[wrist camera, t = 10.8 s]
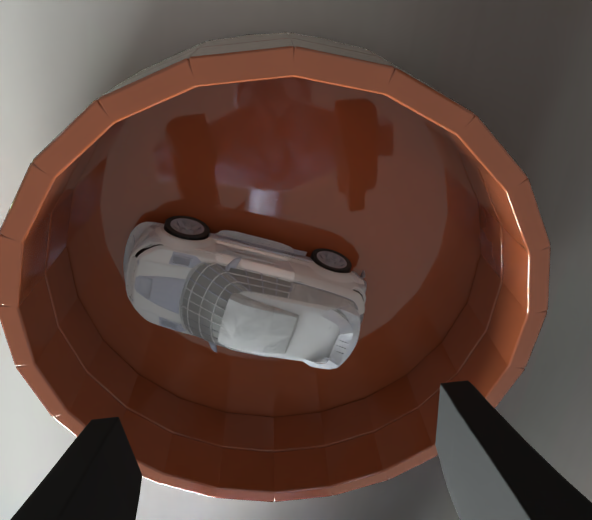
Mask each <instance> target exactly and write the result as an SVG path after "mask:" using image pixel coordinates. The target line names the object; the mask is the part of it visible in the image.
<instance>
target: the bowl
mask: <svg viewBox="0 0 592 520" xmlns="http://www.w3.org/2000/svg"><path fill="white" fill-rule="evenodd" d="M173 216H188V217H193V218H196V219H198V220H200V221H202V222H204V223H205V224H206V225H207V226H208V227H209V229H210V232H209V233H213V234H216V233H218V232H219V231H222V230H229V231H236V232H240V233H244V234H248V235H252V236H256V237H260V238H264V239H268V240H272V241H276V242H279V243H282V244H285V245H287V246H290V247H292V249H295V250H300V251H305V252H307V253H306V257H311V254H312V252H313V251H314V250H315V249H322V248H323V249H330V250H333V251H336V252H338V253H340V254H342V255H344V256H345V257H346V258H348V259H349V261H350V262H351V264H352V267H351V270H350V272H351V271H353V272H356V273H357V274H358V275H359V276H361V273H362V271H364V272H365V278H363V279H364V280H365V281H366V292H365V295H366V301H365V312H364V316H363V321H362V323H361V324H360V333H359V337H358V341H357V344H356V346H355V348H354V350H353V351H352V353H351V354H350V356H349V357H348V358H347V359H346V361H345V362H344V363H343V364H342V365H340V366H339V367H338V368H335V369H321V368H315V367H311V366H309V365H307V364H306V363H304V362H303V361H296V360H289V359H282V358H276V357H270V356H269V357H264V356H259V355H253V354H248V353H243V352H238V351H234V350H230V349H228V348H225V347H222V346H218V345H216V347H217V352H214V351H213V350H212V349H211V347H210V345H209V342H208V341H206V340H204V339H202V338H199V337H197V336H193V335H190V334H186V333H182V332H179V331H175V330H172V329H169V328H165V327H162V326H159V325H156V324H153V323H151V322H149V321H147V320H146V319H144V318H143V317H142V316H141V315H140V314H139V313H138V312H137V311H136V309H135V308H134V307H133V305H132V303H131V301H130V300H129V298H128V296H127V292H126V284H125V278H124V271H123V263H124V253H125V248H126V244H127V240H128V238H129V236H130V233H131V232H132V231H133V229H134V228H135V227H136V226H137V225H139V224H140V223H143V222H156V223H162V224H165V221H166V219H168V218H170V217H173ZM550 249H551V248H550V241H549V238H548V235H547V232H546V229H545V226H544V223H543V220H542V217H541V214H540V211H539V208H538V205H537V202H536V199H535V196H534V193H533V190H532V187H531V184H530V181H529V179H528V178H527V175H526V174H525V173H524V172H523V170H522V169H521V168H520V167H519V165H518V164H517V163H516V162H515V161H514V159H513V158H512V157H511V156H510V155H509V153H508V152H507V151H506V150H505V149H504V147H503V146H502V145H501V144H500V142H499V141H498V140H497V139H496V138H495V136H494V135H493V134H492V133H491V132H490V130H489V129H488V128H487V127H486V126H485V124H484V123H483V122H482V121H481V119H480V118H479V117H478V116H477V115H475V114H474V113H473V112H472V111H470V110H469V109H467V108H465V107H464V106H462V105H460V104H459V103H457V102H456V101H454V100H452V99H451V98H449V97H447V96H446V95H444V94H443V93H441V92H439V91H438V90H436V89H434V88H433V87H431V86H430V85H428V84H426V83H424V82H423V81H421V80H419V79H418V78H416V77H414V76H413V75H411V74H409V73H407V72H406V71H404V70H402V69H401V68H399V67H397V66H396V65H394V64H392V63H390V62H389V61H387V60H385V59H384V58H382V57H380V56H378V55H377V54H375V53H373V52H372V51H370V50H366V49H365V48H362V47H357V46H352V45H347V44H343V43H340V42H336V41H332V40H328V39H324V38H321V37H313V36H305V35H300V34H296V33H289V34H288V33H287V32H282V33H273V34H249V35H243V36H238V37H232V38H226V39H217V40H209V41H207V42H203V43H201V44H198V45H196V46H194V47H192V48H190V49H187V50H185V51H182V52H179V53H177V54H175V55H173V56H171V57H169V58H167V59H165V60H163V61H161V62H159V63H157V64H154V65H152V66H150V67H148V68H146V69H143V70H141V71H139V72H137V73H136V74H134V75H132V76H131V77H129V78H128V79H126V80H125V81H123V82H122V83H120V84H119V85H117V86H115V87H114V88H112V89H111V90H109V91H108V92H106V93H105V94H103V95H102V96H100V97H99V98H97V99H96V100H94V101H93V102H92V103H91V104H90V105H89V106H88V107H87V108H86V109H85V110H84V111H83V112H82V113H81V114H80V115H79V116H77V117H76V118H75V119H74V120H73V121H72V122H71V123H70V124H69V125H68V126H67V127H66V128H65V129H64V130H63V131H62V132H61V133H60V134H59V135H58V136H57V137H56V138H55V139H54V140H53V141H52V142H51V143H50V144H48V145H47V146H46V147H45V148H44V149H43V150H42V151H41V152H40V153H39V154H38V155H37V156H36V157H35V158H34V159H33V162H32V163H30V165H29V167H28V170H27V172H26V174H25V176H24V178H23V180H22V183H21V185H20V187H19V189H18V191H17V194H16V196H15V198H14V200H13V202H12V204H11V207H10V209H9V211H8V213H7V215H6V217H5V220H4V222H3V224H2V226H1V228H0V321H1V324H2V327H3V330H4V333H5V336H6V339H7V342H8V345H9V348H10V351H11V355H12V358H13V361H14V364H15V365H16V368H17V370H18V371H19V372H20V374H21V375H22V376H23V378H24V379H25V381H26V382H27V383H28V385H29V386H30V387H31V389H32V390H33V392H34V393H35V394H36V396H37V397H38V398H39V400H40V401H41V402H42V404H43V405H44V407H45V408H46V409H47V411H48V412H49V413H50V415H51V416H52V417H54V419H55V420H56V421H58V422H59V423H60V424H61V425H63V426H64V427H65V428H66V429H68V430H69V431H70V432H71V433H73V434H74V435H75V436H76V437H78V436H79V434H80V433H81V432H82V431H83V429H84V428H85V427H86V426H87V424H88V423H89V422H90V421H91V420H92V419H101V418H111V417H119V419H120V421H121V424H122V426H123V429H124V431H125V434H126V436H127V439H128V441H129V444H130V446H131V448H132V451H133V453H134V456H135V458H136V461H137V463H138V466H139V468H140V471H141V473H142V476H143V477H145V478H147V479H149V480H151V481H153V482H156V481H157V483H159V484H163V485H167V486H171V487H175V488H178V489H182V490H186V491H190V492H194V493H198V494H202V495H206V496H209V497H214V496H215V498H224V499H237V500H251V501H265V502H273V501H275V502H279V501H289V500H299V499H308V498H318V497H328V496H332V495H338V494H341V493H345V492H348V491H352V490H355V489H359V488H362V487H366V486H369V485H373V484H376V483H380V482H383V481H387V480H389V479H392V478H394V477H396V476H398V475H400V474H402V473H404V472H406V471H408V470H410V469H412V468H414V467H416V466H418V465H420V464H422V463H424V462H426V461H428V460H430V459H432V458H434V457H436V456H438V453H437V449H436V446H435V441H436V430H437V418H438V406H439V394H440V383H447V382H457V381H467V380H468V381H469V382H470V383H472V384H473V385H474V386H475V388H476V389H477V390H478V391H479V392H480V393H481V394H482V395H483V396H484V397H485V399H486V400H487V401H488V402H489V403H490V404H491V405H492V406H493V407H494V408H496V406H497V405H498V404H499V402H500V401H501V400H502V399H503V397H504V396H505V395H506V393H507V392H508V391H509V389H510V388H511V387H512V385H513V384H514V383H515V382H516V380H517V379H518V378H519V376H520V375H521V374H522V372H523V371H524V370H525V367H526V366H527V363H528V361H529V358H530V356H531V353H532V350H533V348H534V345H535V343H536V340H537V338H538V335H539V332H540V330H541V327H542V325H543V322H544V320H545V317H546V314H547V310H548V296H549V272H550ZM350 272H349V273H350ZM318 364H323V363H318Z"/></svg>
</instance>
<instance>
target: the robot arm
mask: <svg viewBox="0 0 592 520" xmlns="http://www.w3.org/2000/svg"><path fill="white" fill-rule="evenodd" d="M435 446H436V449H437V453H438V456H439V460H440V464H441V467H442V471H443V474H444V478H445V481H446V484H447V488H448V491H449V494H450V496H451V499H452V501H453V504H454V506H455V509H456V511H457V514H458V516H459V519H460V520H592V503H591V502H590V501H589V500H588V499H587V498H586V497H585V496H584V495H582V494H581V493H580V492H579V491H578V490H577V489H576V488H575V487H574V486H572V485H571V484H570V483H569V482H568V481H567V480H566V479H565V478H564V477H563V476H562V475H560V474H559V473H558V472H557V471H556V470H555V469H554V468H553V467H552V466H551V465H550V464H549V463H548V462H547V461H546V460H545V459H544V458H543V457H542V456H541V455H540V454H539V453H538V452H537V451H536V450H535V449H534V448H533V447H531V446H530V445H529V444H528V443H527V442H526V441H525V440H524V439H523V438H522V437H521V436H520V434H519V433H518V432H517V431H516V430H515V429H514V428H513V427H512V426H511V425H510V424H509V423H508V422H507V421H506V420H505V419H504V418H503V417H502V416H501V415H500V414H499V413H498V412H497V410H496V409H495V408H494V407H493V406H492V405H491V404H490V403H489V402H488V401H487V400H486V399H485V397H484V396H483V395H482V394H481V393H480V392H479V391H478V390H477V389H476V388H475V386H474V385H473V384H472V383H470V382H469V381H468V380H467V381H457V382H447V383H440V394H439V406H438V418H437V430H436V441H435ZM141 480H142V473H141V471H140V468H139V466H138V463H137V461H136V458H135V456H134V453H133V451H132V448H131V446H130V444H129V441H128V439H127V436H126V434H125V431H124V429H123V426H122V424H121V421H120V419H119V417H111V418H101V419H92V420H91V421H90V422H89V423H88V424H87V426H86V427H85V428H84V429H83V431H82V432H81V433H80V434H79V436H78V437H77V438H76V439H75V441H74V442H73V443H72V444H71V446H70V447H69V448H68V449H67V451H66V452H65V453H64V454H63V456H62V457H61V458H60V460H59V461H58V462H57V463H56V465H55V466H54V467H53V468H52V470H51V471H50V472H49V473H48V475H47V476H46V477H45V478H44V480H43V481H42V482H41V483H40V485H39V486H38V487H37V488H36V489H35V491H34V492H33V493H32V494H31V495H30V497H29V498H28V499H27V500H26V502H25V503H24V504H23V505H22V506H21V508H20V509H19V510H18V511H17V513H16V514H15V515H14V516H13V517H12V518H11V520H135V519H136V513H137V507H138V501H139V494H140V487H141Z"/></svg>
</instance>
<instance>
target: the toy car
mask: <svg viewBox="0 0 592 520" xmlns="http://www.w3.org/2000/svg"><path fill="white" fill-rule="evenodd" d="M209 232H210V229H209V227H208V226H207V225H206V224H205V223H204V222H202V221H200V220H198V219H196V218H193V217H188V216H173V217H170V218H168V219H166V221H165V224H162V223H156V222H143V223H140V224H139V225H137V226H136V227H135V228H134V229H133V231H132V232H131V233H130V236H129V238H128V240H127V244H126V248H125V253H124V263H123V271H124V278H125V284H126V292H127V296H128V298H129V300H130V301H131V303H132V305H133V307H134V308H135V309H136V311H137V312H138V313H139V314H140V315H141V316H142V317H143V318H144V319H146V320H147V321H149V322H151V323H153V324H156V325H159V326H162V327H165V328H169V329H172V330H175V331H179V332H182V333H186V334H190V335H193V336H197V337H199V338H202V339H204V340H206V341H208V342H209V345H210V347H211V349H212V350H213V351H214V352H217V347H216V345H218V346H222V347H225V348H228V349H230V350H234V351H238V352H243V353H248V354H253V355H259V356H264V357H269V356H270V357H276V358H282V359H289V360H296V361H303V362H304V363H306V364H307V365H309V366H311V367H315V368H321V369H335V368H338V367H339V366H340V365H342V364H343V363H344V362H345V361H346V359H347V358H348V357H349V356H350V354H351V353H352V351H353V350H354V348H355V346H356V344H357V341H358V337H359V333H360V324H361V323H362V321H363V316H364V312H365V301H366V295H365V292H366V281H365V280H364V279H363V278H365V272H364V271H362V273H361V276H359V275H358V274H357V273H356V272H353V271H351V272H350V270H351V267H352V264H351V262H350V261H349V259H348V258H346V257H345V256H344V255H342V254H340V253H338V252H336V251H333V250H330V249H323V248H322V249H315V250H314V251H313V252H312V254H311V257H306V253H307V252H305V251H300V250H295V249H292V247H290V246H287V245H285V244H282V243H279V242H276V241H272V240H268V239H264V238H260V237H256V236H252V235H248V234H244V233H240V232H236V231H229V230H222V231H219V232H218V233H216V234H213V233H209ZM349 272H350V273H349ZM318 363H323V364H318Z"/></svg>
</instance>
